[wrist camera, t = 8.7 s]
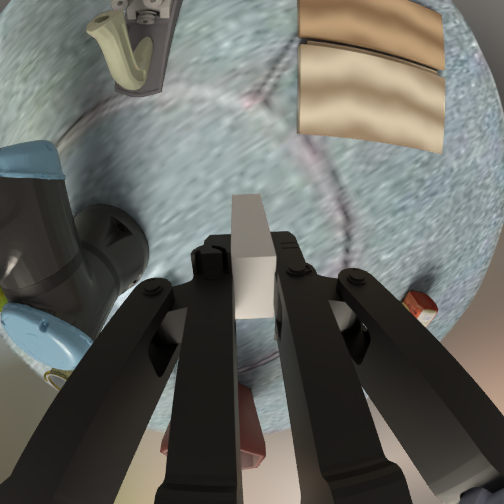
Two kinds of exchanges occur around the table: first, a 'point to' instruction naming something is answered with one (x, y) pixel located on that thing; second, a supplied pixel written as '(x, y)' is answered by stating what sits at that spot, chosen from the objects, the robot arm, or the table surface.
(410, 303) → the snack package
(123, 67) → the hand plane
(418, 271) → the table surface
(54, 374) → the ceramic cup
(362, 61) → the ash plank
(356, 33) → the oak plank
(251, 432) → the bucket
